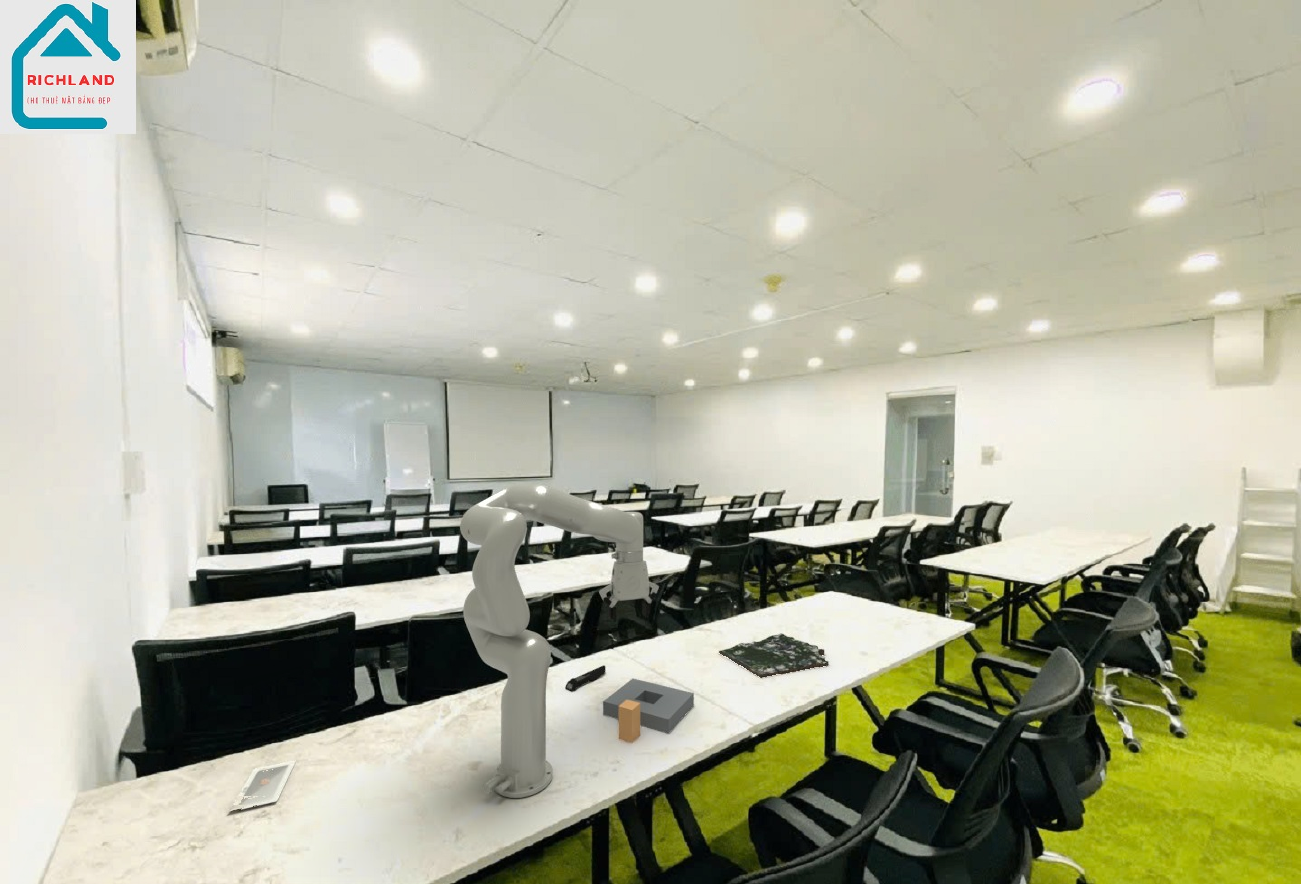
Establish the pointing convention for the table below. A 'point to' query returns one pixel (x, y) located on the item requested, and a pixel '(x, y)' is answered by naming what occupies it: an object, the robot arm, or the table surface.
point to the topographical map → (776, 655)
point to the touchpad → (265, 784)
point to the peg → (629, 721)
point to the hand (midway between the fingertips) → (629, 618)
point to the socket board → (652, 704)
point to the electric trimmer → (585, 678)
